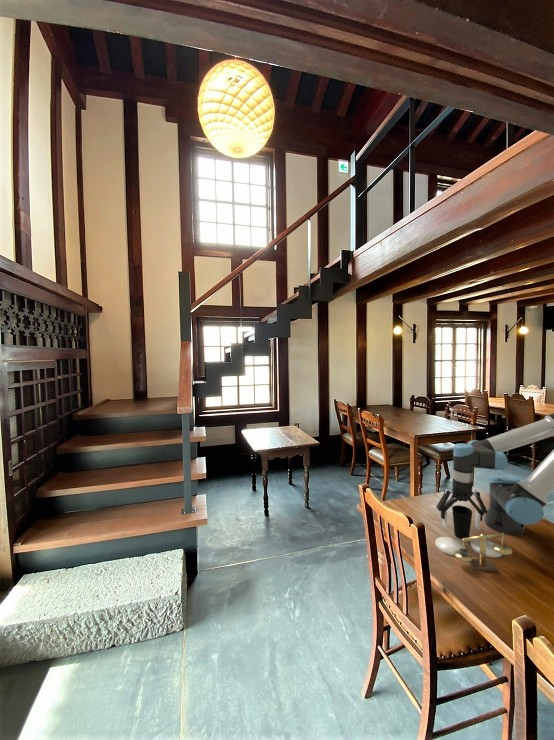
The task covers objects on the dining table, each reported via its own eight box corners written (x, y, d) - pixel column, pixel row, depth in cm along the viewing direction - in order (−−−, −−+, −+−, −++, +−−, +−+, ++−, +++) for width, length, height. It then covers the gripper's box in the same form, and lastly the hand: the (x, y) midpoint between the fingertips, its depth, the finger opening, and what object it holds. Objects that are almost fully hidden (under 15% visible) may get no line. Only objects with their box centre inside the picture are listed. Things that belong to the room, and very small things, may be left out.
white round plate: (492, 541, 134) (492, 539, 134) (508, 558, 123) (508, 555, 123) (465, 540, 135) (465, 537, 135) (478, 557, 124) (479, 554, 124)
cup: (474, 542, 134) (475, 514, 133) (455, 540, 136) (455, 513, 135) (467, 531, 142) (468, 506, 141) (449, 530, 143) (449, 504, 142)
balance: (505, 562, 121) (506, 528, 120) (515, 573, 115) (516, 537, 114) (451, 559, 123) (451, 526, 122) (458, 570, 117) (459, 535, 116)
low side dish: (458, 540, 136) (458, 537, 135) (470, 556, 125) (470, 553, 125) (431, 539, 137) (431, 536, 137) (441, 555, 126) (441, 552, 126)
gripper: (488, 477, 139) (486, 523, 141) (429, 475, 142) (428, 520, 144) (498, 484, 132) (496, 533, 133) (435, 482, 135) (434, 529, 136)
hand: (460, 526), depth 139 cm, fingers open, 13 cm apart
